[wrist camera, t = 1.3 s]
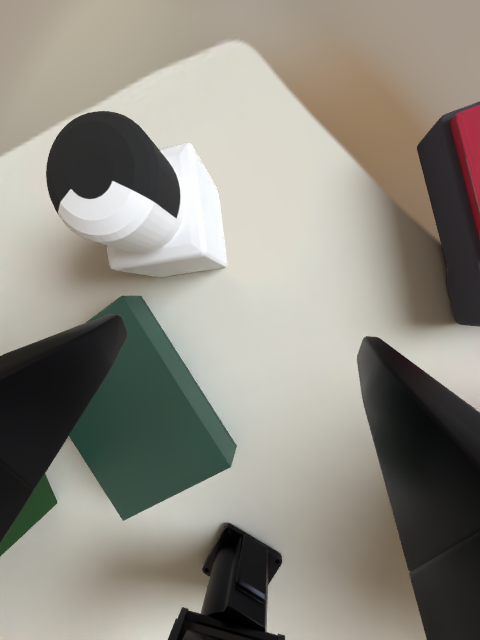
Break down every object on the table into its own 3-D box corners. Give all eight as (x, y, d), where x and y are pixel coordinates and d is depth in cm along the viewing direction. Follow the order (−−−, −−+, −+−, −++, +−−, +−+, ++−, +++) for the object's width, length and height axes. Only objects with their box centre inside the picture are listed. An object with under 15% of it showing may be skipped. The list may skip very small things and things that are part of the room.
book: (236, 446, 24) (231, 466, 21) (140, 496, 27) (122, 521, 24) (141, 295, 24) (122, 295, 21) (53, 359, 27) (25, 367, 24)
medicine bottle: (147, 203, 23) (10, 107, 11) (218, 189, 22) (149, 64, 10) (158, 277, 24) (39, 260, 12) (228, 267, 22) (173, 237, 11)
